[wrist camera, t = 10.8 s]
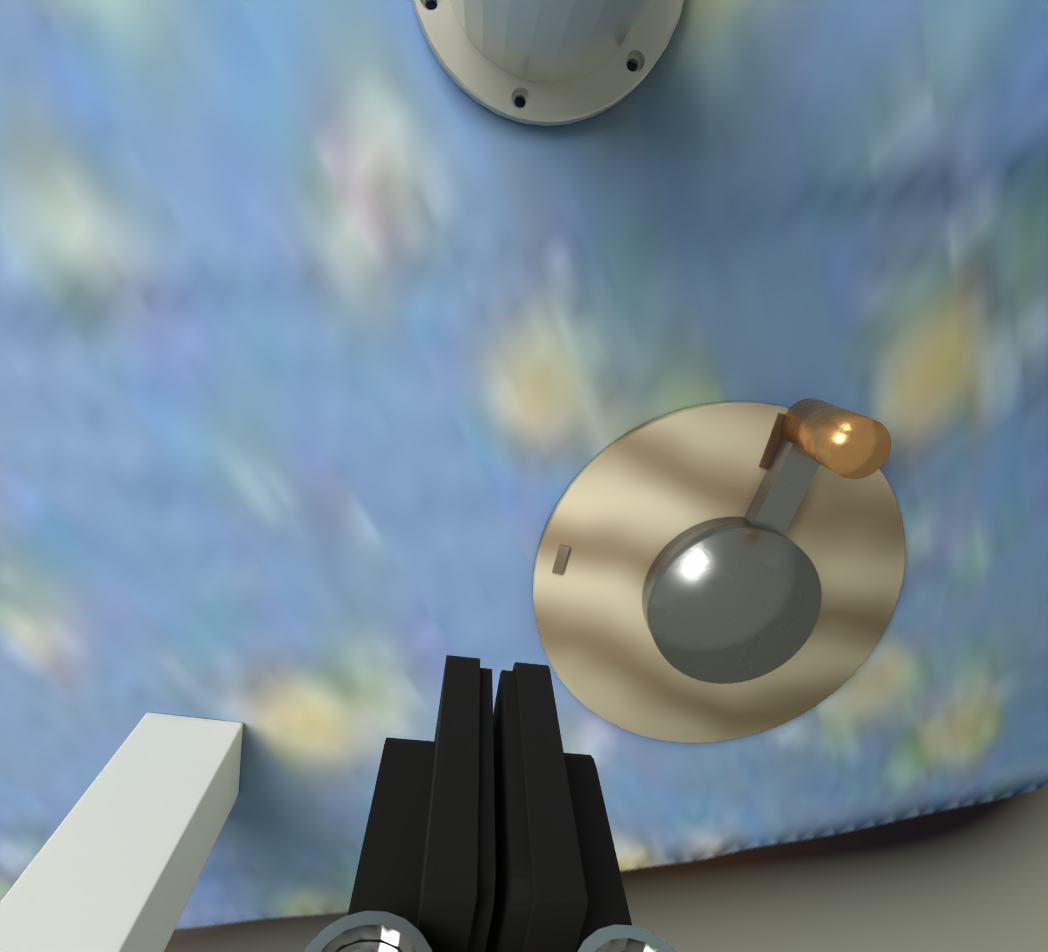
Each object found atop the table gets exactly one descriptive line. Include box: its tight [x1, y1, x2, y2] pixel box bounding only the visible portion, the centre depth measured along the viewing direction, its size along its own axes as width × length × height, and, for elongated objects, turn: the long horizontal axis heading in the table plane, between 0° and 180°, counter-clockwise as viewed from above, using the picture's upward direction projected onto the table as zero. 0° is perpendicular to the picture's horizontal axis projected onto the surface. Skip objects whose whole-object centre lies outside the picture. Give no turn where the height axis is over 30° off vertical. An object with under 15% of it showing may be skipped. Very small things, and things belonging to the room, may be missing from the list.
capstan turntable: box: [642, 399, 891, 684], centre depth 34 cm, size 18×10×5 cm, turn 160°
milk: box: [0, 713, 243, 952], centre depth 29 cm, size 6×6×22 cm
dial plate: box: [532, 401, 905, 743], centre depth 38 cm, size 23×23×1 cm
